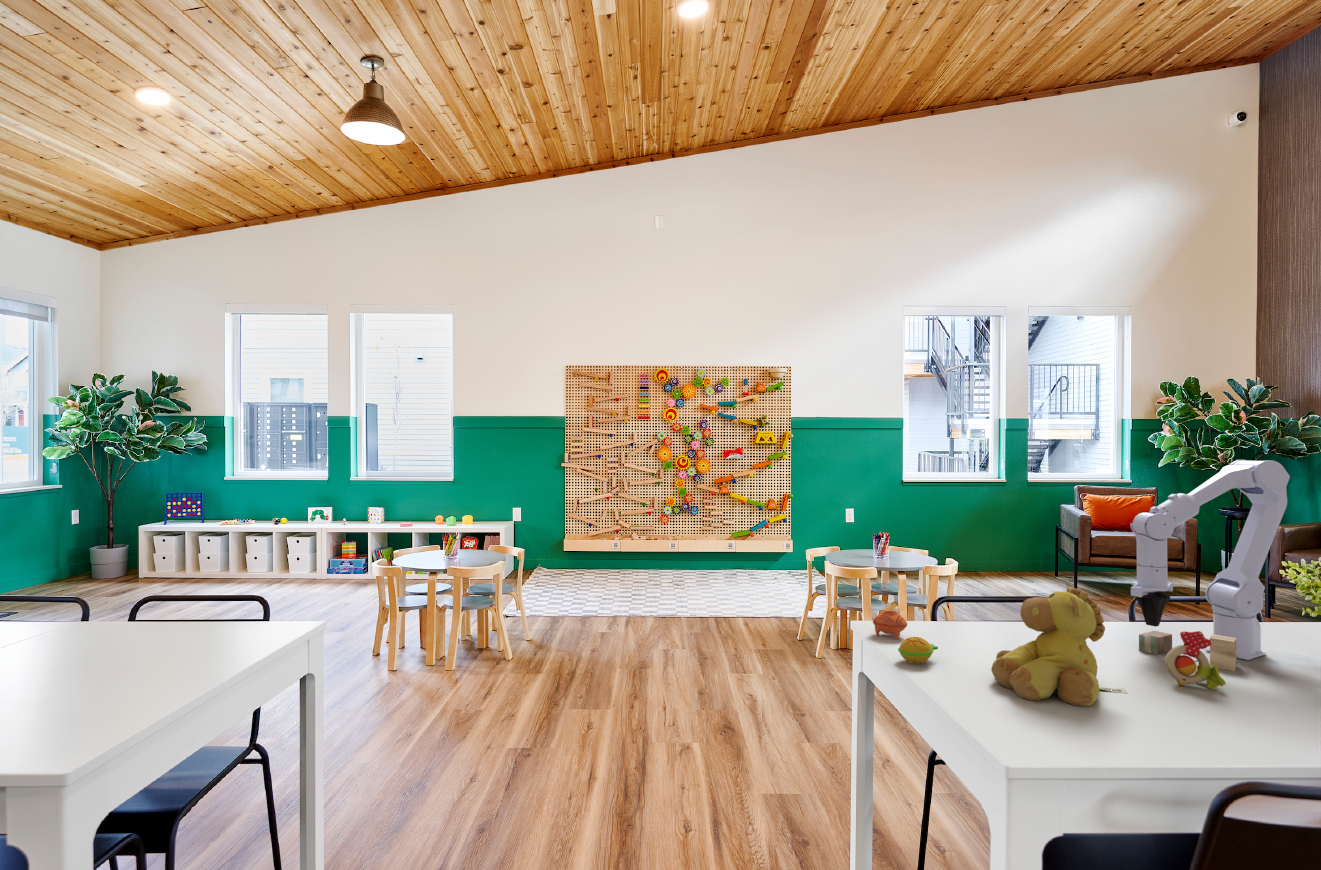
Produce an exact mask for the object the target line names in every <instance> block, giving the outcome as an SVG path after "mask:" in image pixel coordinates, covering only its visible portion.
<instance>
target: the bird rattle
mask: <svg viewBox="0 0 1321 870" xmlns="http://www.w3.org/2000/svg"><path fill="white" fill-rule="evenodd" d="M1179 635H1180V638H1181V641H1182V642H1183V644H1182V645H1177V646H1174V647H1172V649H1171V650H1170V651H1167V653H1166V655H1165V660H1164V661H1165V662H1164V663H1165V667H1166V669H1167V672H1168V673H1169V675H1171V677H1172V678H1173V679H1174V680H1176V682H1177V685H1179V686H1181V687H1184V686H1186V685H1195V684H1199V683H1202V682H1205V681H1206V685H1207V688H1209V690H1212V691H1213V690H1216V689H1217V688H1218V687H1219V686H1220V687H1223V686H1226V684H1227V682H1226V681H1225V679H1224V678H1223V677H1222V676H1221V675H1220V672H1219V668H1217V667H1216V666H1214V665H1211V666H1210V660H1209V659H1208V657H1207V656H1206V655H1205V653H1204V652H1203V651H1201V650H1205V649H1207V648H1209V647H1210V645H1211V640H1210V638H1209V639H1208V638H1207V637H1205V635H1204V633H1203V632H1202V631H1200V630H1198V631H1191V632H1190V631H1181V632H1180V634H1179ZM1193 658H1194V659H1196V660H1194V659H1193ZM1197 662H1198V664H1197Z"/></svg>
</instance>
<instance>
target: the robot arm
mask: <svg viewBox="0 0 1321 870" xmlns="http://www.w3.org/2000/svg"><path fill="white" fill-rule="evenodd" d="M1290 478H1291V476H1290V474H1289V473H1288V472H1287V470H1286V469H1285V467H1284V466H1283V465H1282V464H1281V463H1280V462H1278V461H1276V460H1273V459H1272V460H1270V459H1269V460H1246V459H1236V460H1235V461H1232V462H1231V463H1229V464H1228V465H1225V466H1223V467H1222V468H1221V470H1220V471H1219V472H1218V473H1216V474H1215V475H1213V476H1212V477H1210V478H1209V479H1207V480H1206V481H1204V482H1203V483H1202V484H1200V485H1199V486H1197V487H1196V488H1194V489H1193V490H1191V491H1190V492H1189V493H1187V494H1186V493H1181V492H1179V493H1171V494H1169V495H1168V496H1167V500H1165V501H1163V502H1161V503H1160V504H1159V505H1157V506H1151V507H1150V508H1149V512H1140V513H1138V514H1137V515H1135V517H1134V519H1133V520H1132V522H1131V523H1130V524H1129V525H1130V529H1131V531H1132V533H1133V534H1134V535H1135V541H1136V581H1132V582H1131V587H1130V596H1131V597H1134V599H1136V601H1137V602H1138V604H1139V606H1140V609H1141V613H1142V614H1143V615H1142V616H1143V619H1144V622H1145V625H1147V626H1151V627H1159V626H1160V624H1161V620H1162V618H1163V617H1162V616H1163V613H1164V610H1165V608H1166V606H1167V604H1168V603H1169V601H1170V600H1171V595H1170V594H1165V592H1173V591H1174V585H1173V584H1174V582H1170V581H1168V576H1169V575H1168V574H1169V573H1168V538H1170V537H1172V535H1173V534H1174V531H1175V529H1176V528H1177V527H1178V526H1181V525H1182V524H1184V523H1185V522H1187V521H1189V520H1191V519H1192V518H1194V517H1195V516H1197V515H1199V512H1200V507H1201V506H1202V505H1204V504H1206V503H1208V502H1209V501H1210V502H1211V500H1213V499H1215V498H1217V497H1219V496H1221V495H1223V494H1225V493H1226V492H1229V491H1230V490H1232V489H1238V490H1239V491H1240V492H1241V493H1242V494H1244V495H1245V496H1246V497H1247V498H1248V499H1249V501H1250V503H1251V504H1252V505H1251V508H1250V510H1249V513H1248V515H1247V518H1246V521H1245V524H1244V526H1243V528H1242V531H1241V533H1240V535H1239V539H1238V541H1237V543H1236V546H1235V547H1234V551H1233V554H1232V556H1231V558H1230V560H1229V564H1228V567H1226V568H1225V569H1223V570H1222V571H1220V572H1217V574H1215V575H1216V576H1215V578H1214V580H1212V582H1210V583H1209V584H1208V585H1207V587H1206V589H1205V599H1206V601H1207V602H1208V603H1209V604H1210V605H1211V610H1212V611H1213V613H1212V614H1213V615H1212V617H1213V619H1212V622H1213V623H1212V624H1213V625H1212V626H1213V627H1212V629H1213V634H1212V635H1220V636H1226V637H1232V638H1237V659H1241V660H1245V661H1250V660H1253V659H1256V658H1259V657H1262V656H1265V655H1267V652H1266V651H1262V649H1261V648H1262V646H1261V645H1262V643H1261V641H1262V640H1261V638H1262V635H1261V633H1262V632H1261V631H1262V630H1261V628H1262V626H1261V623H1260V622H1259V620H1258V619H1257V615H1258V614H1259V613H1261V611H1262V609H1263V608H1264V596H1263V594H1264V591H1265V586H1264V584H1263V583H1262V582H1261V580H1260V578H1259V576H1260V574H1261V571H1262V569H1263V566H1264V564H1265V561H1266V558H1267V556H1268V554H1269V551H1270V548H1271V546H1272V544H1273V542H1274V539H1275V536H1276V534H1277V531H1278V529H1279V527H1280V525H1281V521H1282V519H1283V516H1284V514H1285V511H1286V510H1287V506H1288V495H1287V492H1288V491H1287V486H1288V483H1289V481H1290ZM1163 592H1164V593H1163ZM1204 650H1205V651H1206V652H1208V653H1210V647H1206V648H1205V649H1204Z"/></svg>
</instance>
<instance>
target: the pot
mask: <svg viewBox="0 0 1321 870" xmlns="http://www.w3.org/2000/svg"><path fill="white" fill-rule="evenodd" d="M872 623H873V625H874V631H875V634H876V635H877V636H879V635H880V632H881V633H884V634H886V635H894V637H895V640H899V639H900V636H901V633H902V631H904V630H906V628H907V626H908V622H907V620H906V619H905V618H904V617H903V616H902V615H901V614H899V613H898V611H896V610H882V611H881V612H880V613H879V614H877V615H876V616H875V617H874V618H873V620H872Z"/></svg>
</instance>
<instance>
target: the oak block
mask: <svg viewBox="0 0 1321 870" xmlns="http://www.w3.org/2000/svg"><path fill="white" fill-rule="evenodd" d="M1209 640H1211V645H1210V646H1209V648H1210V652H1209V664H1210V666H1211V665H1214V666H1216V667H1217V668H1218V669H1223V670H1228V671H1229V670H1230V671H1236V669H1237V666H1238V658H1237V638H1232V637H1226V636H1220V635H1213V634H1211V636H1210V637H1209Z"/></svg>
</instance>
